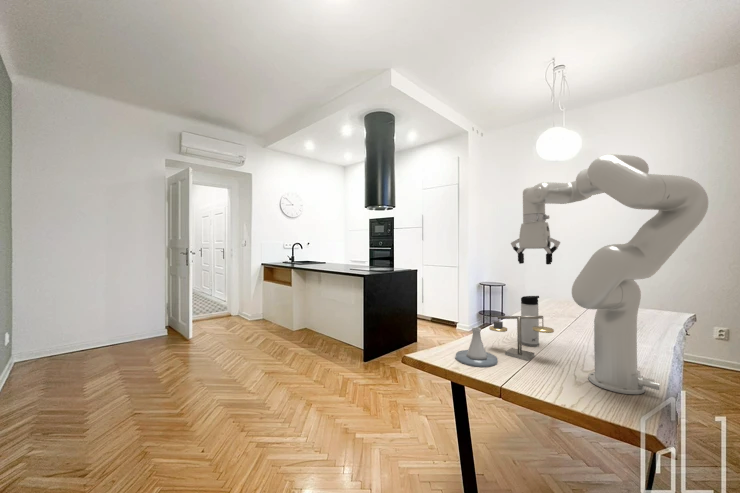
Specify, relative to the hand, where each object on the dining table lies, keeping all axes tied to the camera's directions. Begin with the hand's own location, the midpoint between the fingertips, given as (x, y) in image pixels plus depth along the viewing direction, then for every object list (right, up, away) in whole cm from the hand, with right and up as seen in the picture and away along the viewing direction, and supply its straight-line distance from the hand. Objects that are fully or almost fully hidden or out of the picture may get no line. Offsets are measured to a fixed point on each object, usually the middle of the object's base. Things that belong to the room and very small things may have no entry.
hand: (534, 263), depth 114 cm
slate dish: (-26, -34, -9) cm, 43 cm away
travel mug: (+2, -34, +7) cm, 34 cm away
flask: (-25, -33, -9) cm, 42 cm away
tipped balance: (-8, -33, -5) cm, 35 cm away
